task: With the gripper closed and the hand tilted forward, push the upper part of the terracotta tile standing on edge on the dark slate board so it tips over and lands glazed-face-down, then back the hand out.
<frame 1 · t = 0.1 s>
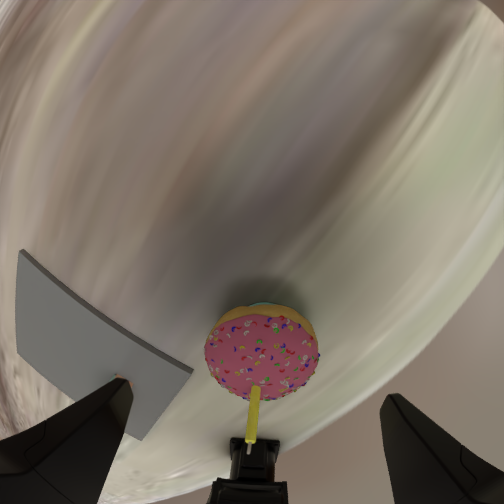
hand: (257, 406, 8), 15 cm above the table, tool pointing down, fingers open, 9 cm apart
cupcake: (263, 322, 24), on the table
board: (120, 387, 28), on the table
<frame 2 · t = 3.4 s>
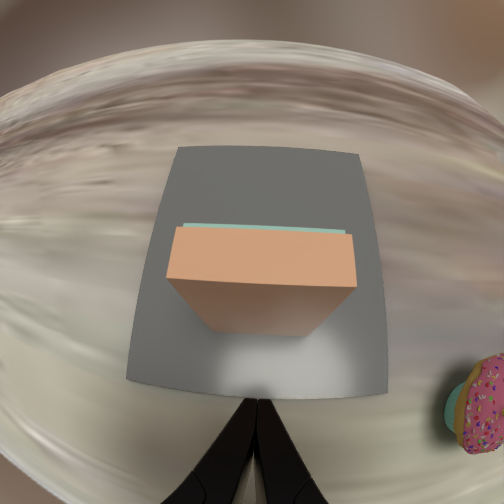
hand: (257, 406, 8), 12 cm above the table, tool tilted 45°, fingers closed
tile: (261, 318, 20), point 1 cm above the table, touching board
cupcake: (460, 405, 16), on the table
board: (260, 320, 21), on the table
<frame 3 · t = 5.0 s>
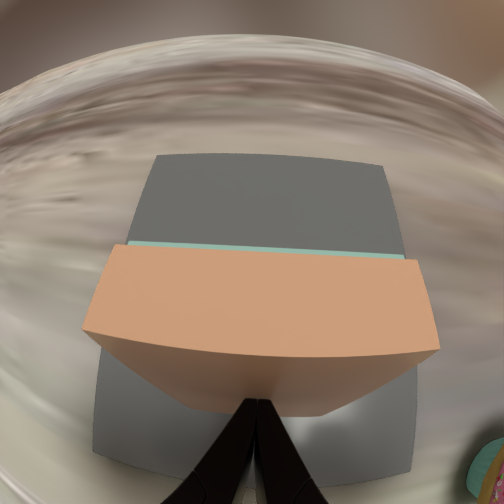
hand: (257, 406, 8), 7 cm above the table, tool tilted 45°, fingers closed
tile: (257, 394, 14), point 1 cm above the table, tilted 12°, touching board
cupcake: (484, 464, 10), on the table
board: (257, 394, 14), on the table
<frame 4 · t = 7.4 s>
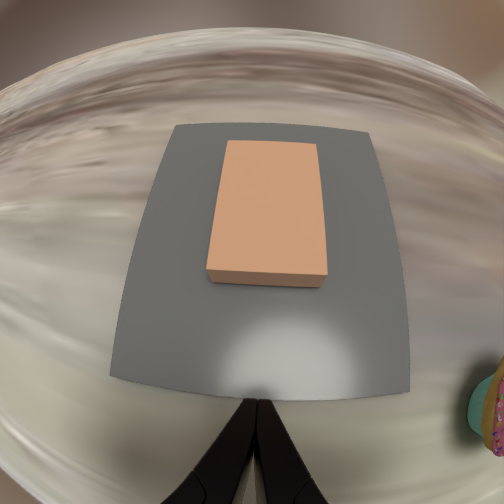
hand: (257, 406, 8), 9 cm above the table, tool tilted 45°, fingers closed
tile: (266, 280, 17), point 2 cm above the table, tilted 90°, touching board
cupcake: (483, 403, 13), on the table
board: (265, 308, 18), on the table
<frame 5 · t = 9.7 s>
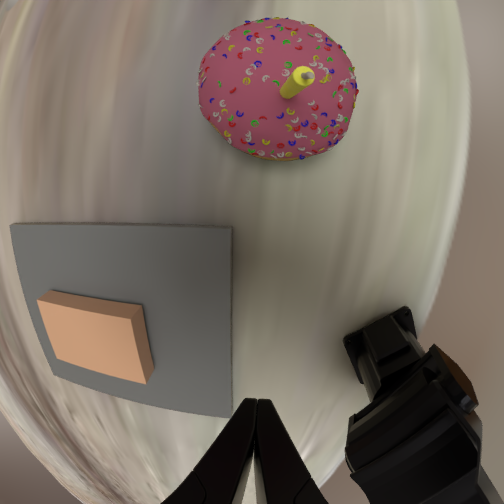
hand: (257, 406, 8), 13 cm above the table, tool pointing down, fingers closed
tile: (144, 346, 21), point 2 cm above the table, tilted 90°, touching board
cupcake: (276, 102, 17), on the table
board: (164, 335, 23), on the table
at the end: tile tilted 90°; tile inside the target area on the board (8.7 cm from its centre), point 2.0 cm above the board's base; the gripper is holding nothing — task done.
